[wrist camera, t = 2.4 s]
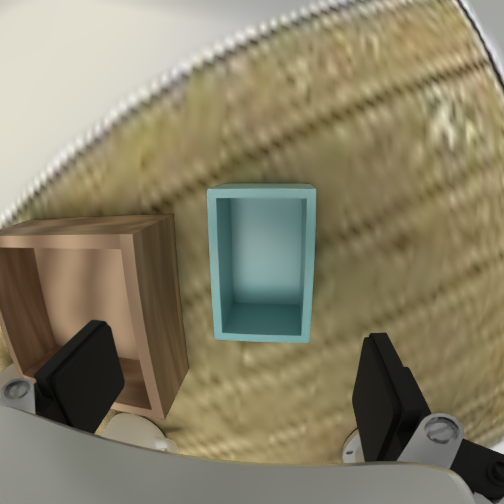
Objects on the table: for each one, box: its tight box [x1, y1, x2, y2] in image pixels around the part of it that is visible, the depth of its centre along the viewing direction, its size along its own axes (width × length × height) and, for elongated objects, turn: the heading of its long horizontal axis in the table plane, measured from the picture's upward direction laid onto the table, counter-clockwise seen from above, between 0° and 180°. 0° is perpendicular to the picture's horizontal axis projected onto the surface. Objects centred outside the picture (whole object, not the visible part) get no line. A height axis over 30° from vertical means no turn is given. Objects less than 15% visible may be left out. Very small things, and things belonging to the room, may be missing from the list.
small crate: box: [207, 183, 316, 343], centre depth 24 cm, size 7×11×6 cm, turn 1°
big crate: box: [0, 214, 189, 420], centre depth 26 cm, size 18×16×8 cm
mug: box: [100, 413, 179, 454], centre depth 30 cm, size 12×8×10 cm
